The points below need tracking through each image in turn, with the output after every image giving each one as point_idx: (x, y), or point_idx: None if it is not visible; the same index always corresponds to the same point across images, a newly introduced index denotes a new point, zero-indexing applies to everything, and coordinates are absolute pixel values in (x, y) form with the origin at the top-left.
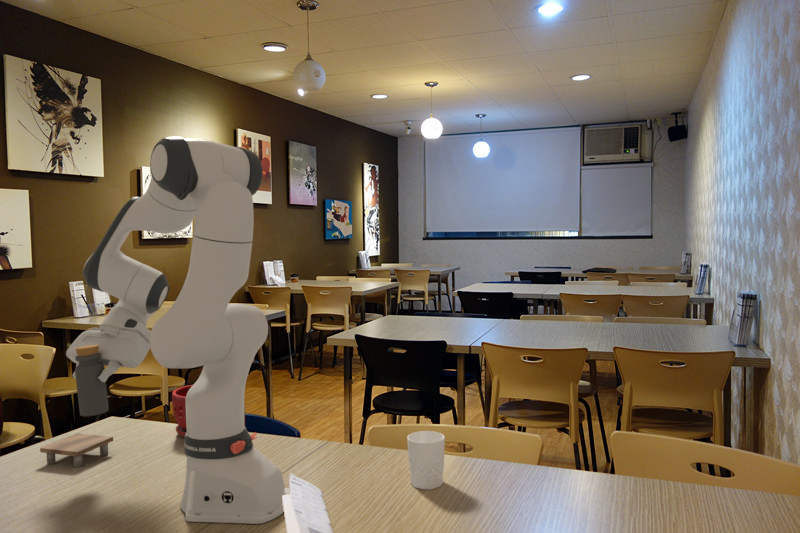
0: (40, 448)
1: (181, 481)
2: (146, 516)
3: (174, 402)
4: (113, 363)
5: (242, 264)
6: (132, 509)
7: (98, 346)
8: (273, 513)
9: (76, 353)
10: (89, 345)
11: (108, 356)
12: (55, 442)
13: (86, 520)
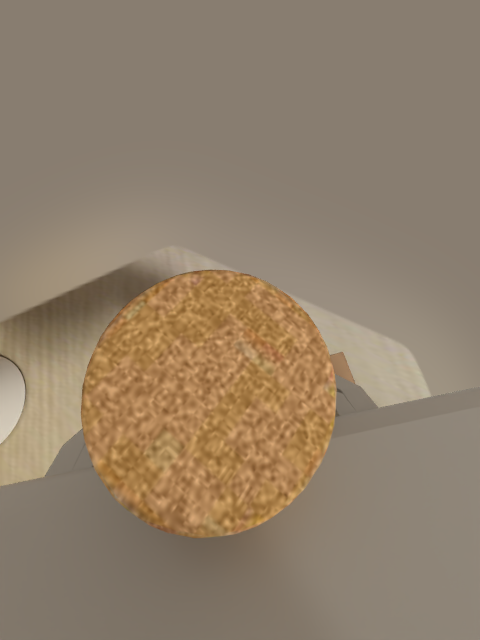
0: (341, 352)
1: (77, 426)
2: (42, 327)
3: None
4: (54, 466)
5: None
6: (75, 330)
7: (115, 484)
8: None
9: (432, 411)
10: (280, 453)
11: (73, 484)
12: (352, 381)
13: (104, 288)
